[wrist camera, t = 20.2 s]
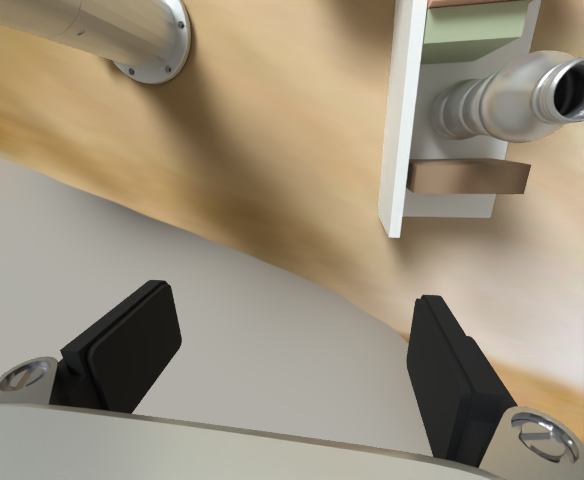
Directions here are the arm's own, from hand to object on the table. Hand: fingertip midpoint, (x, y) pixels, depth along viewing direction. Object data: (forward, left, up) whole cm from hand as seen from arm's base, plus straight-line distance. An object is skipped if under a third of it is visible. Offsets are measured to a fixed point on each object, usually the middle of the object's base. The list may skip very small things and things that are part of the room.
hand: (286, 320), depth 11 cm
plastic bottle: (+16, +9, -32) cm, 37 cm away
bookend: (+16, +2, -32) cm, 36 cm away
